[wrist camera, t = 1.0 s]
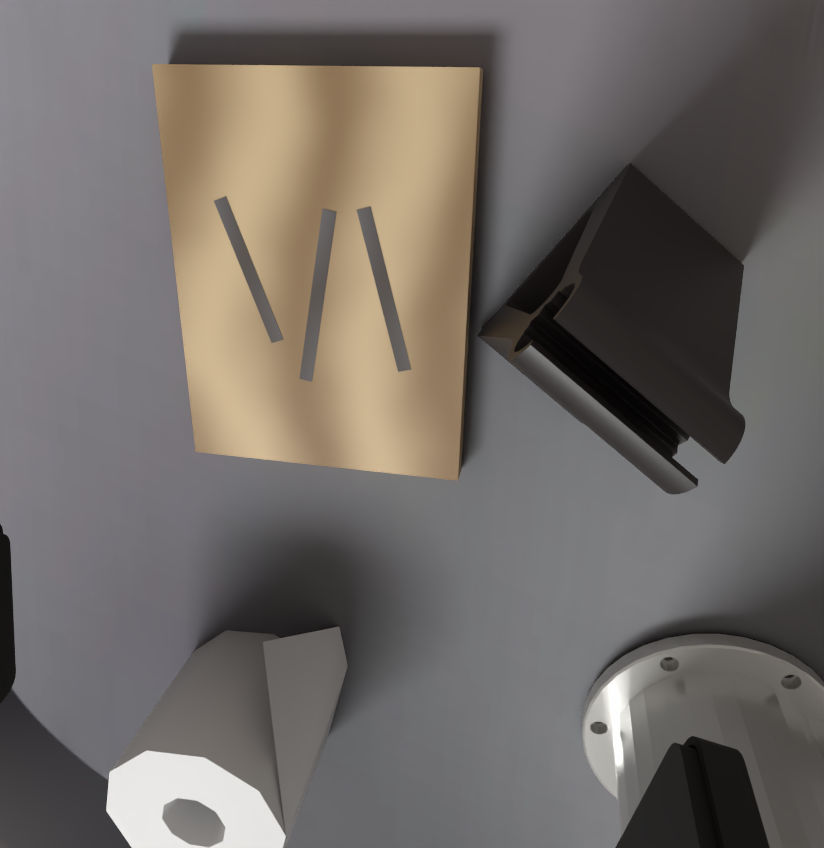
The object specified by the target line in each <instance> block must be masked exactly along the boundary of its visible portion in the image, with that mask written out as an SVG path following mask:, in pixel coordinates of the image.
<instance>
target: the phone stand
mask: <svg viewBox="0 0 824 848" xmlns="http://www.w3.org/2000/svg"><path fill="white" fill-rule="evenodd" d="M743 269H744V265H743V264H742V263H741V262H739V261H738V260H737V259H736V258H735V257H734V256H733V255H732V254H731V253H729V252H728V251H727V250H726V249H725V248H724V247H723V246H722V245H721V244H720V243H718V242H717V241H716V240H715V239H714V238H713V237H712V236H711V235H710V234H708V233H707V232H706V231H705V230H704V229H703V228H702V227H701V226H700V225H698V224H697V223H696V222H695V221H694V220H693V219H692V218H691V217H690V216H689V215H687V214H686V213H685V212H684V211H683V210H682V209H681V208H680V207H679V206H677V205H676V204H675V203H674V202H673V201H672V200H671V199H670V198H669V197H667V196H666V195H665V194H664V193H663V192H662V191H661V190H660V189H659V188H658V187H656V186H655V185H654V184H653V183H652V182H651V181H650V180H649V179H648V178H646V177H645V176H644V175H643V174H642V173H641V172H640V171H639V170H638V169H636V168H635V167H634V166H633V165H632V164H631V163H630V164H629V165H628V166H626V168H625V169H624V170H623V171H622V172H621V173H620V174H619V175H618V176H617V178H616V179H615V180H614V181H613V182H612V183H611V184H610V185H609V187H608V188H607V189H606V190H605V191H604V192H603V193H602V194H601V196H600V197H599V198H598V199H597V200H596V201H595V202H594V203H593V205H592V206H591V207H590V208H589V209H588V210H587V211H586V213H585V214H584V215H583V216H582V217H581V218H580V219H579V220H578V222H577V223H576V224H575V225H574V226H573V227H572V228H571V229H570V231H569V232H568V233H567V234H566V235H565V236H564V237H563V238H562V240H561V241H560V242H559V243H558V244H557V245H556V246H555V248H554V249H553V250H552V251H551V253H550V254H549V255H548V256H547V257H546V258H545V259H544V260H543V261H542V262H541V263H540V264H539V266H538V267H537V268H536V269H535V270H534V271H533V272H532V273H531V275H530V276H529V277H528V278H527V279H526V280H525V281H524V282H523V284H522V285H521V286H520V287H519V288H518V289H517V290H516V292H515V293H514V294H513V295H512V296H511V297H510V298H509V299H508V301H507V302H506V303H505V304H504V305H503V306H502V307H501V308H500V310H499V311H498V312H497V313H496V314H495V315H494V316H493V317H492V319H491V320H490V321H489V322H488V323H487V324H486V325H485V326H484V328H483V329H482V330H481V331H480V333H479V334H478V336H479V337H480V338H481V339H482V340H484V341H485V342H486V343H487V344H488V345H490V346H491V347H492V348H493V349H494V350H495V351H497V352H498V353H499V354H500V355H501V356H503V357H504V358H505V359H506V360H507V361H509V362H510V363H511V364H512V365H513V366H514V367H516V368H517V369H518V370H519V371H520V372H522V373H523V374H524V375H525V376H526V377H528V378H529V379H530V380H531V381H532V382H534V383H535V384H536V385H537V386H538V387H539V388H541V389H542V390H543V391H544V392H545V393H547V394H548V395H549V396H550V397H551V398H553V399H554V400H555V401H556V402H557V403H558V404H560V405H561V406H562V407H563V408H564V409H566V410H567V411H568V412H569V413H570V414H572V415H573V416H574V417H575V418H576V419H577V420H579V421H580V422H581V423H583V424H585V425H586V426H588V427H589V428H590V429H591V430H592V431H594V432H595V433H596V434H597V435H598V436H599V437H601V438H602V439H603V440H604V441H605V442H607V443H608V444H609V445H610V446H611V447H613V448H614V449H615V450H616V451H617V452H618V453H620V454H621V455H622V456H623V457H624V458H626V459H627V460H628V461H629V462H630V463H632V464H633V465H634V466H635V467H636V468H637V469H639V470H640V471H641V472H642V473H643V474H645V475H646V476H647V477H648V478H649V479H651V480H652V481H653V482H654V483H655V484H657V485H658V486H659V487H660V488H661V489H662V490H664V491H665V492H666V493H669V494H680V493H684V492H687V491H689V490H692V489H694V488H695V487H697V485H698V479H697V478H695V477H694V476H693V475H692V474H691V473H690V472H688V471H687V470H686V469H685V468H684V467H683V466H681V465H680V464H679V463H678V462H677V461H675V460H674V459H673V458H672V456H674V455H675V454H676V453H677V448H678V445H680V444H682V443H684V442H686V441H687V440H688V438H689V436H690V437H692V438H693V439H694V440H695V441H696V442H697V443H699V444H700V445H701V446H702V447H703V448H704V449H706V450H707V451H708V452H709V453H710V454H711V455H713V456H714V457H715V458H716V459H717V460H718V461H720V462H721V463H723V464H725V463H726V462H727V461H728V460H729V458H730V457H731V456H732V454H733V453H734V452H735V450H736V448H737V447H738V445H739V443H740V441H741V439H742V437H743V434H744V430H745V419H744V417H743V415H742V414H740V413H739V412H738V411H737V410H736V409H735V408H734V407H733V406H732V405H731V402H730V398H729V389H730V380H731V372H732V363H733V355H734V346H735V338H736V329H737V320H738V312H739V303H740V295H741V286H742V278H743Z"/></svg>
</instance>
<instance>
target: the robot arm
mask: <svg viewBox="0 0 824 848" xmlns="http://www.w3.org/2000/svg"><path fill="white" fill-rule="evenodd" d="M15 674H16V667H15V644H14V621H13V598H12V575H11V552H10V541H9V538H8V536H7V535H5V534H3V530H2V526H1V525H0V703H1V702H2V701H3V700H4V698H5V697H6V696H7V694H8V693H9V691H10V689H11V687H12V685H13V683H14V679H15ZM582 738H583V744H584V750H585V755H586V757H587V760H588V762H589V764H590V767H591V769H592V771H593V772H594V774H595V775H596V776H597V778H598V779H599V781H600V782H601V783H602V785H603V786H604V787H605V788H606V789H607V790H608V791H609V792H610V793H611V794H612V795H613V796H614V797H616V798H617V799H618V807H619V819H620V831H621V838H620V840H619V842H618V844H617V846H616V848H824V681H823V680H822V679H821V678H820V677H819V676H818V675H817V674H816V673H815V672H814V671H813V670H812V669H811V668H810V667H808V666H807V665H805V664H804V663H803V662H801V661H800V660H798V659H797V658H796V657H794V656H793V655H791V654H788V653H786V652H784V651H782V650H780V649H778V648H776V647H774V646H772V645H769V644H766V643H762V642H759V641H756V640H752V639H749V638H745V637H739V636H731V635H724V634H689V635H682V636H676V637H669V638H665V639H662V640H659V641H656V642H652V643H649V644H646V645H643V646H641V647H639V648H637V649H635V650H634V651H632V652H630V653H628V654H626V655H624V656H622V657H621V658H620V659H618V660H617V661H616V662H615V663H613V664H612V665H611V666H609V667H608V668H607V669H606V670H605V671H604V672H603V674H602V675H601V676H600V677H599V678H598V679H597V681H596V682H595V683H594V685H593V687H592V689H591V691H590V692H589V694H588V696H587V698H586V701H585V706H584V710H583V715H582Z"/></svg>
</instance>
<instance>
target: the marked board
mask: <svg viewBox="0 0 824 848" xmlns="http://www.w3.org/2000/svg"><path fill="white" fill-rule="evenodd" d="M152 69H153V77H154V86H155V95H156V104H157V113H158V122H159V131H160V140H161V148H162V157H163V166H164V175H165V184H166V193H167V202H168V210H169V219H170V228H171V237H172V246H173V255H174V264H175V273H176V281H177V290H178V299H179V308H180V317H181V326H182V335H183V343H184V352H185V361H186V370H187V379H188V388H189V397H190V406H191V414H192V423H193V432H194V441H195V450H196V452H202V453H211V454H220V455H230V456H239V457H248V458H257V459H266V460H275V461H284V462H293V463H302V464H312V465H321V466H330V467H339V468H348V469H357V470H366V471H375V472H384V473H394V474H403V475H412V476H421V477H430V478H439V479H448V480H457V481H458V479H459V475H460V472H461V465H462V447H463V429H464V411H465V393H466V375H467V357H468V338H469V320H470V302H471V284H472V266H473V248H474V229H475V211H476V193H477V175H478V157H479V139H480V121H481V102H482V84H483V69H482V68H480V67H391V66H290V65H190V64H152Z"/></svg>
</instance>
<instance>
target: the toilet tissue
mask: <svg viewBox="0 0 824 848" xmlns="http://www.w3.org/2000/svg"><path fill="white" fill-rule="evenodd" d="M347 667H348V665H347V660H346V655H345V651H344V646H343V641H342V637H341V632H340V627H334V628H329V629H324V630H319V631H314V632H309V633H304V634H300V635H295V636H290V637H285V638H279V637H278V636H276V635H275V634H266V633H253V632H241V631H228V630H226V631H224V632H223V633H221V634H220V635H218V636H216V637H215V638H213V639H212V640H210V641H209V642H207V643H206V644H204V645H202V646H201V647H199V648H198V649H196V650H195V651H193V653H192V654H191V656H190V657H189V659H188V660H187V662H186V663H185V664H184V666H183V667H182V669H181V670H180V672H179V673H178V674H177V676H176V677H175V679H174V680H173V682H172V683H171V685H170V686H169V687H168V689H167V690H166V692H165V693H164V695H163V696H162V697H161V699H160V700H159V702H158V703H157V705H156V706H155V707H154V709H153V710H152V712H151V713H150V715H149V716H148V718H147V719H146V720H145V722H144V723H143V725H142V726H141V728H140V729H139V730H138V732H137V733H136V735H135V736H134V738H133V739H132V741H131V742H130V743H129V745H128V746H127V748H126V749H125V751H124V752H123V753H122V755H121V756H120V758H119V759H118V761H117V762H116V764H115V765H114V766H113V768H112V769H111V771H110V774H109V786H108V797H107V810H106V811H107V812H108V814H109V815H110V817H111V818H112V820H113V821H114V823H115V824H116V825H117V827H118V828H119V830H120V831H121V833H122V834H123V835H124V837H125V838H126V840H127V841H128V843H129V844H130V846H131V847H132V848H286V846H287V843H288V841H289V838H290V835H291V833H292V830H293V827H294V825H295V822H296V820H297V817H298V814H299V812H300V809H301V806H302V804H303V801H304V798H305V796H306V793H307V791H308V788H309V785H310V783H311V780H312V777H313V775H314V772H315V770H316V767H317V764H318V762H319V759H320V756H321V754H322V751H323V748H324V746H325V743H326V741H327V738H328V735H329V732H330V728H331V724H332V721H333V717H334V714H335V710H336V706H337V703H338V699H339V696H340V692H341V688H342V685H343V681H344V678H345V674H346V670H347Z"/></svg>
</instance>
